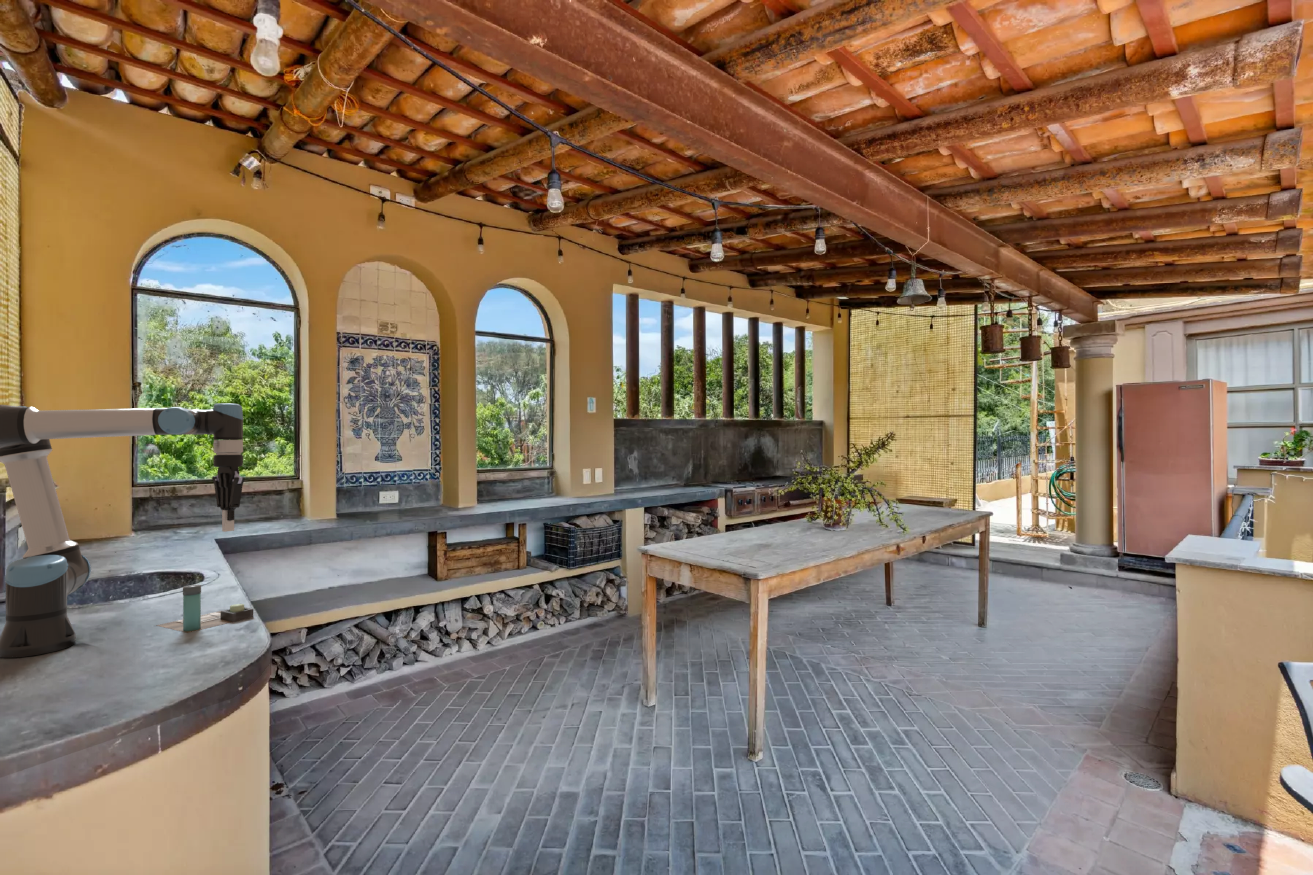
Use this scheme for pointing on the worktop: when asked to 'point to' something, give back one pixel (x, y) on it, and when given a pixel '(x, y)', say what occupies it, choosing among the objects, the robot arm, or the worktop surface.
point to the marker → (191, 607)
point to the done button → (236, 608)
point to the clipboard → (213, 619)
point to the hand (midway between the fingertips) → (228, 530)
